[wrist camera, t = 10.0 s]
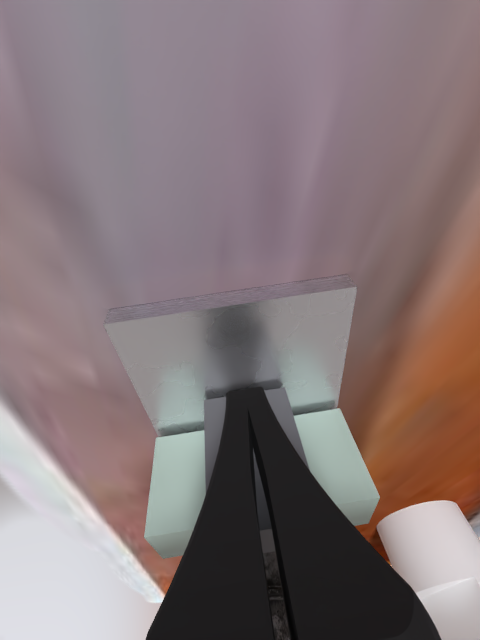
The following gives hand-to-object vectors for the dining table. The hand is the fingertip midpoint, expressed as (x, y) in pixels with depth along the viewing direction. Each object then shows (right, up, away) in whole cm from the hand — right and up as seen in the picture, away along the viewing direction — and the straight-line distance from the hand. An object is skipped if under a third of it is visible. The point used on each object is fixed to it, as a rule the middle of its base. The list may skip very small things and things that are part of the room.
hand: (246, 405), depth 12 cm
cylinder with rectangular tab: (+19, -19, +22) cm, 35 cm away
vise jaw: (0, -2, +5) cm, 5 cm away
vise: (0, -4, +7) cm, 8 cm away
